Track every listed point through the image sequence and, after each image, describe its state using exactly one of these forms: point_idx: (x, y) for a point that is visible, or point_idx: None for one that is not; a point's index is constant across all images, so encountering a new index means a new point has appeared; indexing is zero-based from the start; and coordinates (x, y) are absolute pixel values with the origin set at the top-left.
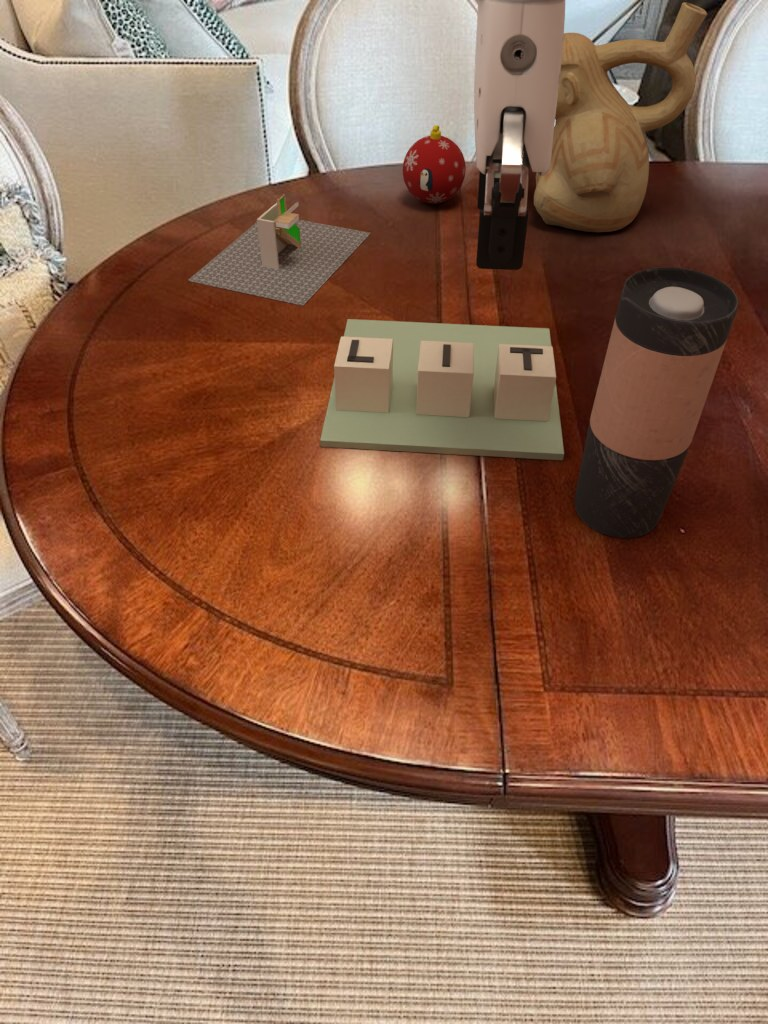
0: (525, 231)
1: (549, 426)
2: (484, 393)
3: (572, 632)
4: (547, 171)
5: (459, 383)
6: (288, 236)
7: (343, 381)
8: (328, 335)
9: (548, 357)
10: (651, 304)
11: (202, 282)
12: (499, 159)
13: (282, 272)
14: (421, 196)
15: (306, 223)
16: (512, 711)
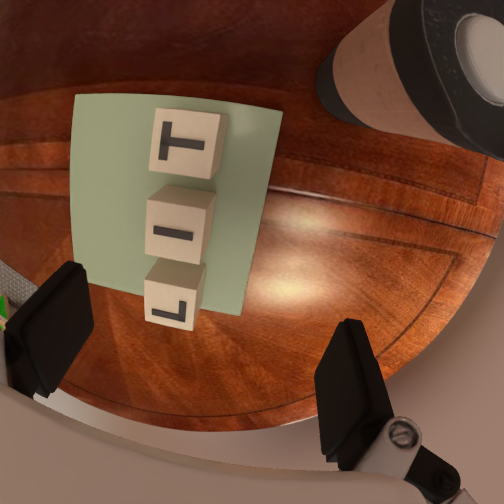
0: (380, 378)
1: (237, 115)
2: None
3: (452, 173)
4: (414, 487)
5: (207, 218)
6: (7, 310)
7: (196, 315)
8: (95, 291)
9: (179, 116)
10: (488, 98)
11: None
12: (35, 372)
13: None
14: None
15: None
16: (478, 226)
